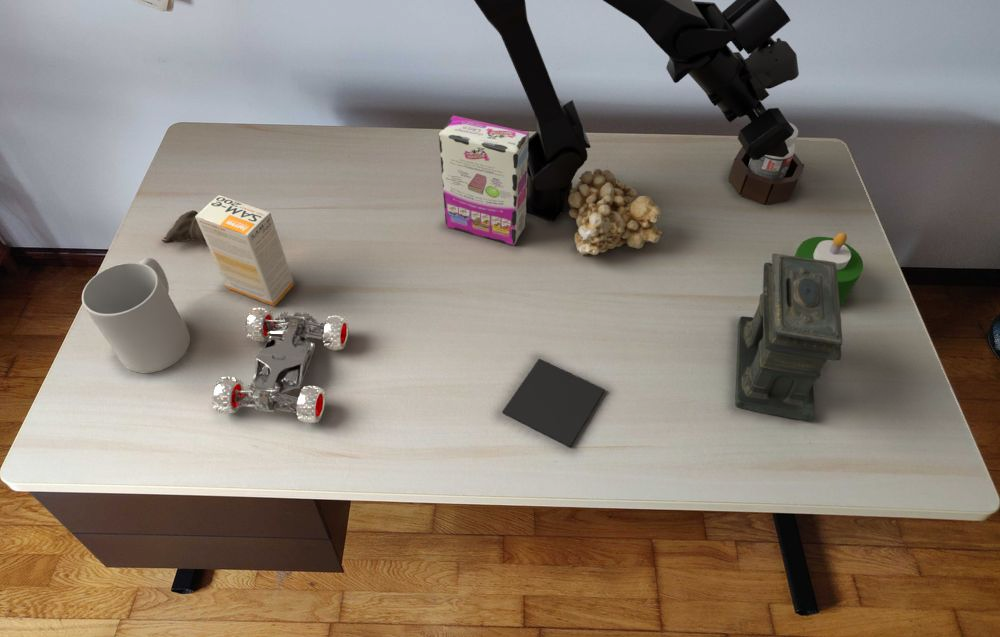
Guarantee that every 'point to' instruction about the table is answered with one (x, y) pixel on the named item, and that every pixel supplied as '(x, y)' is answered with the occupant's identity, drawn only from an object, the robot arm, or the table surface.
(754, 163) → the pill bottle
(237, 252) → the supplement box
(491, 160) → the candy bar box
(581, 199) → the mineral formation
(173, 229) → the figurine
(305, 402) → the toy car
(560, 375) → the rubber mat
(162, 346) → the mug
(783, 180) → the holder ring
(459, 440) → the table surface
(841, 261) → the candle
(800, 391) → the model
